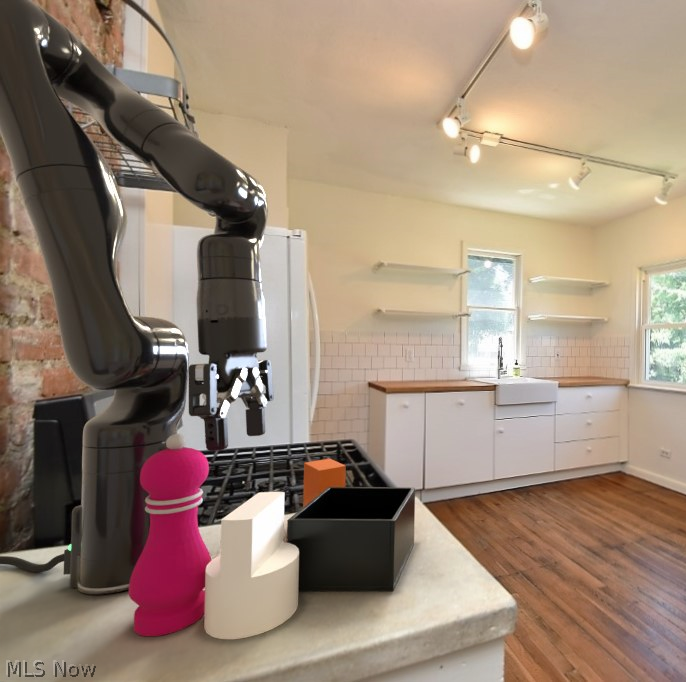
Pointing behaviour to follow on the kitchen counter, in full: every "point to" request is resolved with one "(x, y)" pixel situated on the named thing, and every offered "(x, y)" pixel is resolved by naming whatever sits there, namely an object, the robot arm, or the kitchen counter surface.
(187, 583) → the pepper mill
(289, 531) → the bin
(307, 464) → the orange rectangular block
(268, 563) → the cylinder with rectangular tab
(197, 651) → the kitchen counter surface
